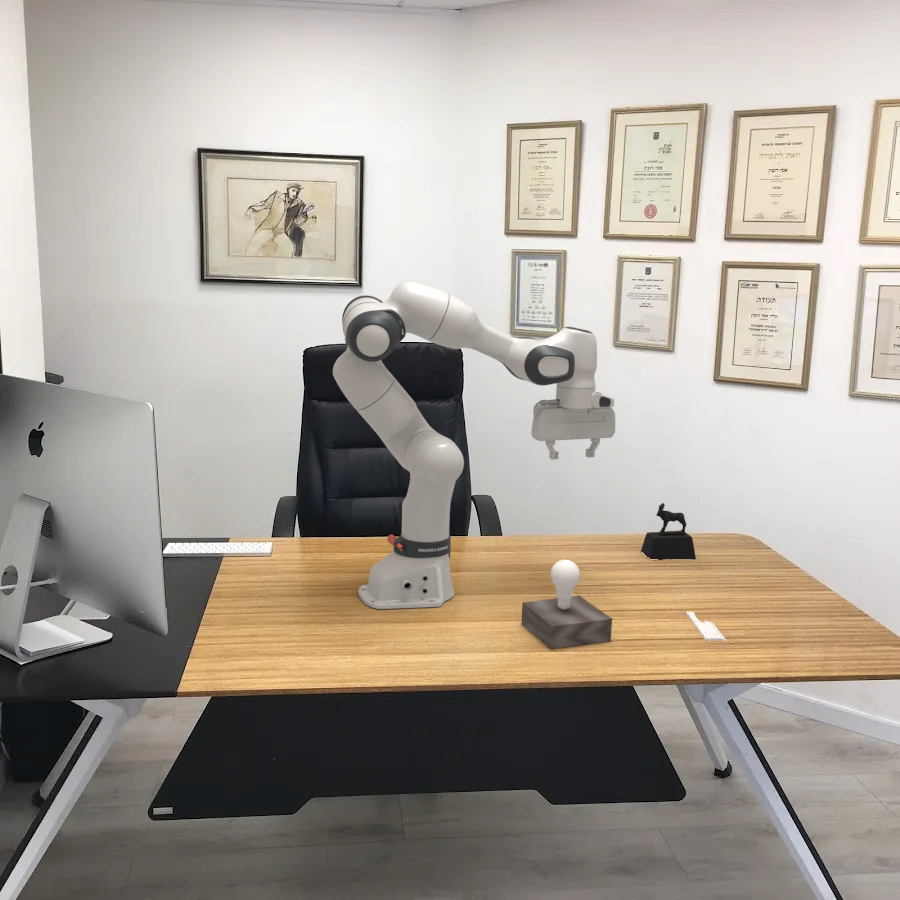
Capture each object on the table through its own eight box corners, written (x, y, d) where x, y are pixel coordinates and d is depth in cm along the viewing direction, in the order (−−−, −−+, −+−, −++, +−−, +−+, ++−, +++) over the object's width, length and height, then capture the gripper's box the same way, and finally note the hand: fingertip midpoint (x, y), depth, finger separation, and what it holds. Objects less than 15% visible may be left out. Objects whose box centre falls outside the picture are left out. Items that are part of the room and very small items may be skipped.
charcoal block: (550, 649, 190) (552, 626, 189) (521, 624, 203) (522, 602, 202) (610, 641, 195) (612, 618, 194) (578, 616, 208) (579, 595, 207)
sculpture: (639, 551, 256) (643, 499, 253) (686, 551, 258) (690, 498, 254) (648, 561, 248) (652, 506, 245) (696, 560, 250) (701, 506, 247)
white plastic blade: (708, 615, 212) (708, 611, 211) (728, 642, 197) (729, 638, 197) (686, 614, 212) (686, 610, 211) (704, 642, 197) (705, 637, 197)
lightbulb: (558, 616, 194) (560, 566, 192) (544, 606, 200) (546, 557, 197) (583, 612, 197) (586, 563, 194) (568, 602, 202) (571, 554, 200)
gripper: (540, 402, 206) (537, 463, 209) (620, 399, 213) (616, 458, 216) (528, 398, 212) (525, 457, 214) (606, 395, 219) (603, 453, 222)
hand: (572, 458), depth 215 cm, fingers open, 8 cm apart
